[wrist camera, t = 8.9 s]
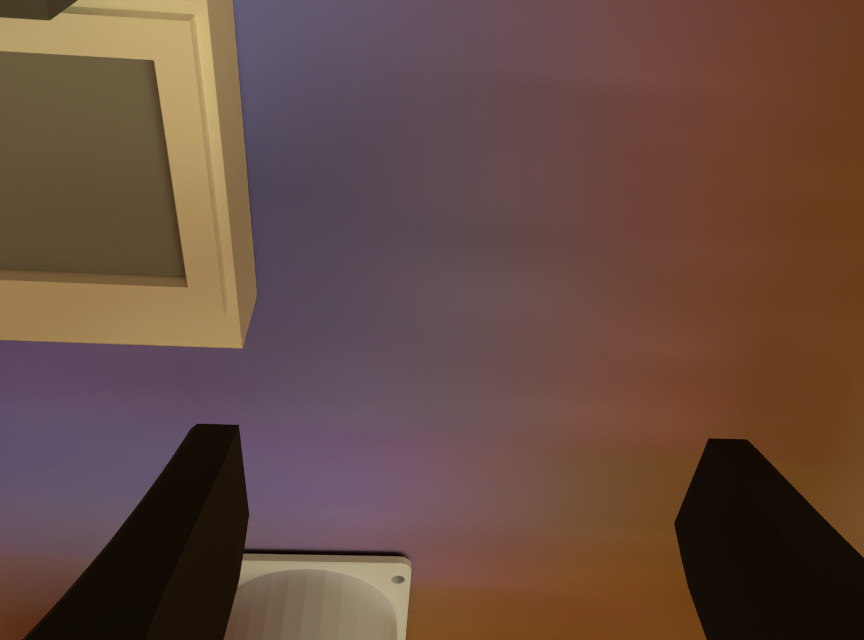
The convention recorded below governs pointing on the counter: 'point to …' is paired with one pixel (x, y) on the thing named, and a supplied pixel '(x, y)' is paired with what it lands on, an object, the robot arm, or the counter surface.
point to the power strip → (124, 177)
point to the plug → (33, 8)
